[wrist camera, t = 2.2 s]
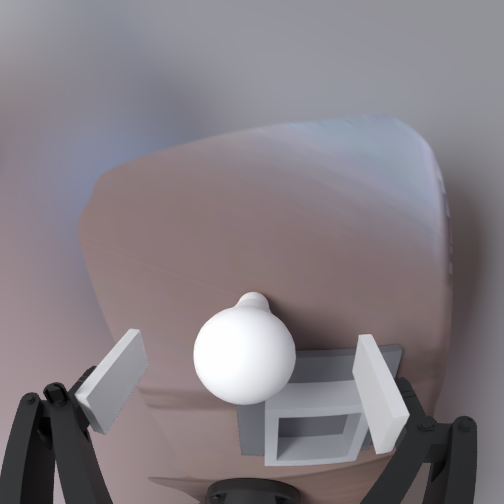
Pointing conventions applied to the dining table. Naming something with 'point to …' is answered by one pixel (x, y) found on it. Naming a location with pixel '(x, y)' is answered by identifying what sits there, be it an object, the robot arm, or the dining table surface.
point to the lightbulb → (245, 352)
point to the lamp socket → (312, 412)
